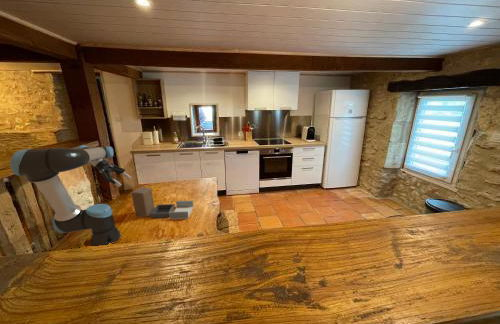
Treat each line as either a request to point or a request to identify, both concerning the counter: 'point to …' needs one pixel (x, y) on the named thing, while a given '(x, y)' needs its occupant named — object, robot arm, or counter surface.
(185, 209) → the walled bay
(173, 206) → the box
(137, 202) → the wooden block
